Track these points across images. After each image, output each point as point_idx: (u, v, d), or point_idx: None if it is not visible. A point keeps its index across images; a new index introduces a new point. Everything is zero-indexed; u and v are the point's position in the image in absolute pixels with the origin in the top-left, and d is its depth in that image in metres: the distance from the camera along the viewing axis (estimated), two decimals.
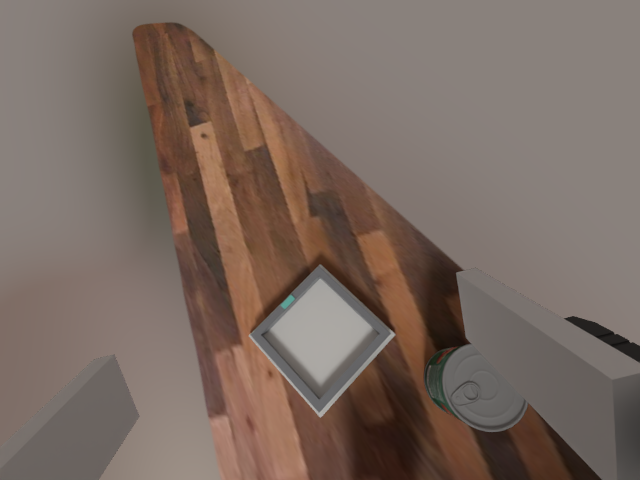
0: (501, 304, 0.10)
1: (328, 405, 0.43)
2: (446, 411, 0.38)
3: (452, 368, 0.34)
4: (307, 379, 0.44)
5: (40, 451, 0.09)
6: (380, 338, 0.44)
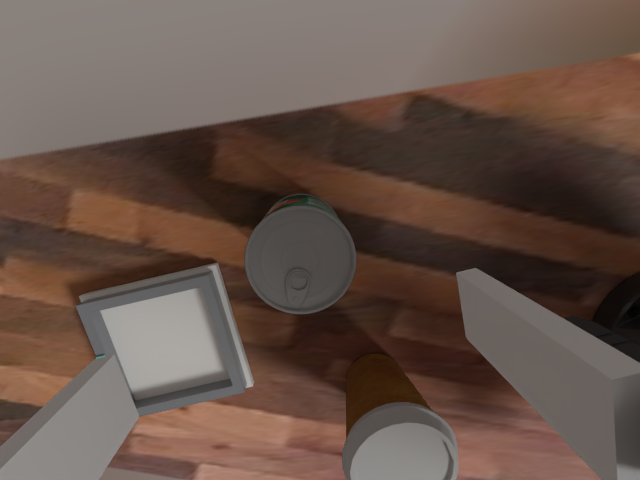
0: (501, 304, 0.10)
1: (246, 373, 0.37)
2: None
3: (262, 282, 0.25)
4: (208, 379, 0.37)
5: (40, 451, 0.09)
6: (207, 289, 0.33)
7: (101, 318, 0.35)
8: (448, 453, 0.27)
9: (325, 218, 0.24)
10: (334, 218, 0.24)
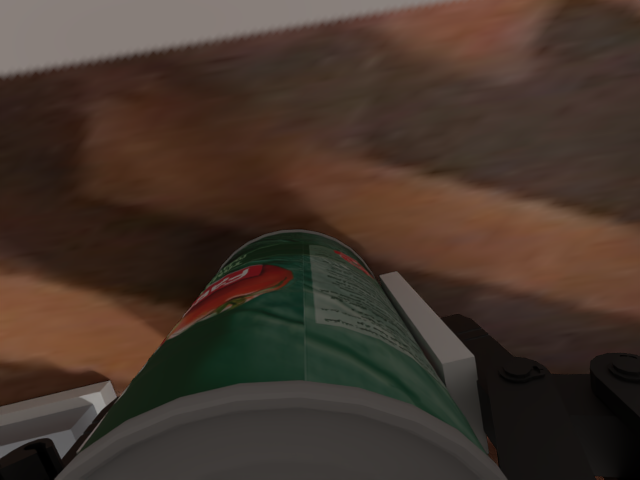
0: (399, 303, 0.11)
1: None
2: None
3: None
4: None
5: None
6: None
7: None
8: None
9: (408, 435, 0.05)
10: (458, 447, 0.04)
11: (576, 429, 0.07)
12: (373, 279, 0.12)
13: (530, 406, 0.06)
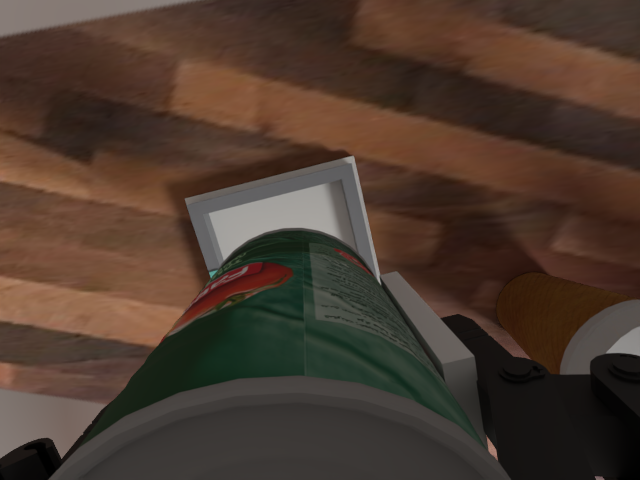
0: (399, 303, 0.11)
1: None
2: None
3: None
4: None
5: None
6: (349, 182, 0.27)
7: (212, 226, 0.28)
8: None
9: (408, 431, 0.05)
10: (459, 443, 0.04)
11: (576, 429, 0.07)
12: (373, 277, 0.12)
13: (530, 405, 0.06)
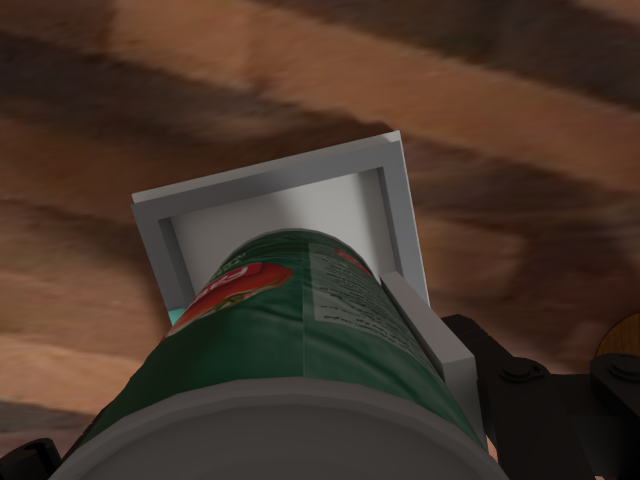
0: (399, 303, 0.11)
1: None
2: None
3: None
4: None
5: None
6: (394, 172, 0.16)
7: (174, 238, 0.18)
8: None
9: (407, 432, 0.05)
10: (457, 444, 0.04)
11: (576, 429, 0.07)
12: (373, 277, 0.12)
13: (530, 406, 0.06)
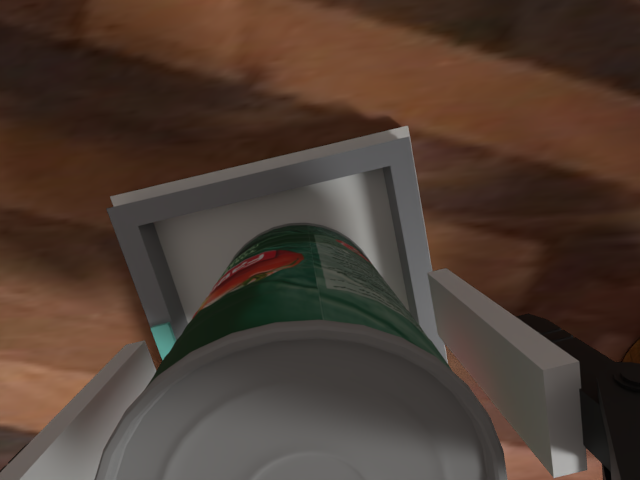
0: (462, 302, 0.10)
1: None
2: None
3: None
4: None
5: (87, 425, 0.10)
6: (402, 172, 0.15)
7: (159, 245, 0.16)
8: None
9: (399, 361, 0.06)
10: (436, 367, 0.06)
11: None
12: (371, 264, 0.14)
13: None
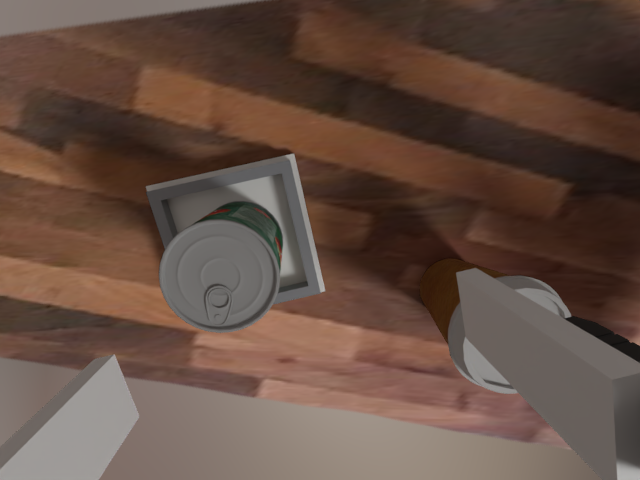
0: (501, 304, 0.10)
1: (319, 276, 0.35)
2: None
3: (180, 299, 0.23)
4: None
5: (40, 451, 0.09)
6: (287, 176, 0.31)
7: (169, 211, 0.32)
8: None
9: (245, 232, 0.23)
10: (253, 232, 0.22)
11: None
12: (270, 219, 0.30)
13: None
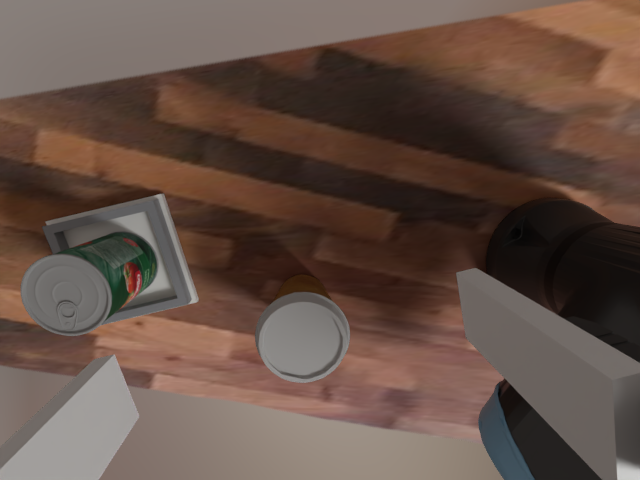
0: (501, 304, 0.10)
1: (190, 290, 0.43)
2: None
3: (39, 311, 0.32)
4: (158, 296, 0.43)
5: (40, 451, 0.09)
6: (152, 213, 0.40)
7: (65, 240, 0.41)
8: (338, 330, 0.34)
9: (81, 262, 0.31)
10: (86, 263, 0.31)
11: None
12: (136, 247, 0.39)
13: None
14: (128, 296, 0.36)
